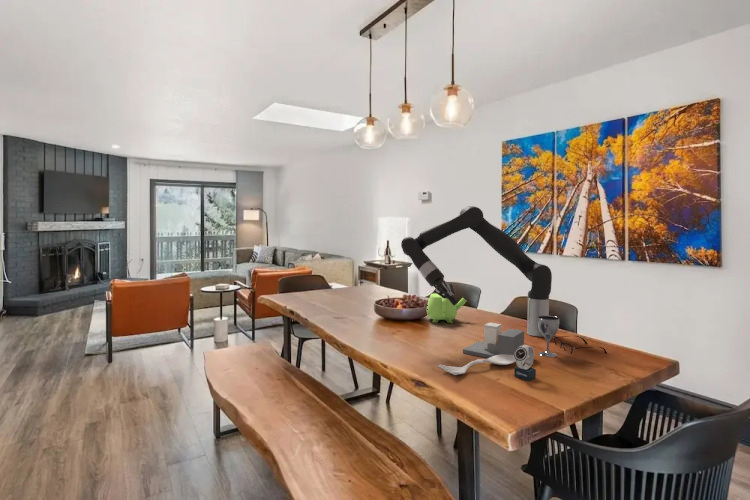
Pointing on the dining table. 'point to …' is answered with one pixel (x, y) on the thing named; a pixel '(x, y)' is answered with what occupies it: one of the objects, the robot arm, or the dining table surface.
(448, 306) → the teapot
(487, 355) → the grey block model
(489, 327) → the white rectangular block
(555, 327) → the wine glass
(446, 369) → the spoon
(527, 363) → the watch
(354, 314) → the dining table surface
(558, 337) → the eyeglasses
